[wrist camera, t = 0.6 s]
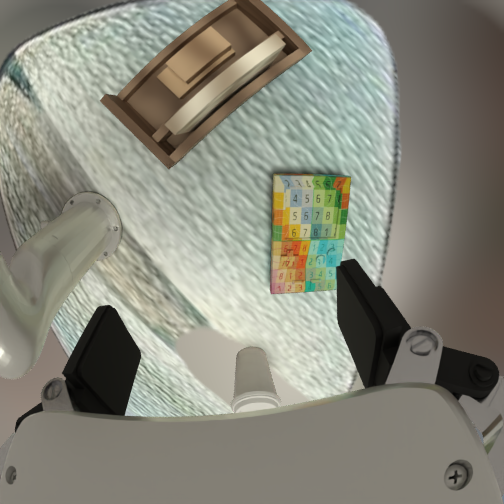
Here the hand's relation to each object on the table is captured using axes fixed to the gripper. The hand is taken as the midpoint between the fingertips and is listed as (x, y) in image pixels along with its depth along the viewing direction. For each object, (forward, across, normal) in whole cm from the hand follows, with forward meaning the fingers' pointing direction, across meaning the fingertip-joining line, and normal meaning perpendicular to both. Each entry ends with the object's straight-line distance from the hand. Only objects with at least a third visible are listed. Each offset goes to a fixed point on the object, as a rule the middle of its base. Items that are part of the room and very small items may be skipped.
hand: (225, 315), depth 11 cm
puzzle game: (+34, -9, +12) cm, 37 cm away
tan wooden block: (+32, +2, -17) cm, 36 cm away
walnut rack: (+33, +1, -15) cm, 37 cm away
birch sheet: (+32, -1, -11) cm, 34 cm away
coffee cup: (+33, +5, +40) cm, 52 cm away
